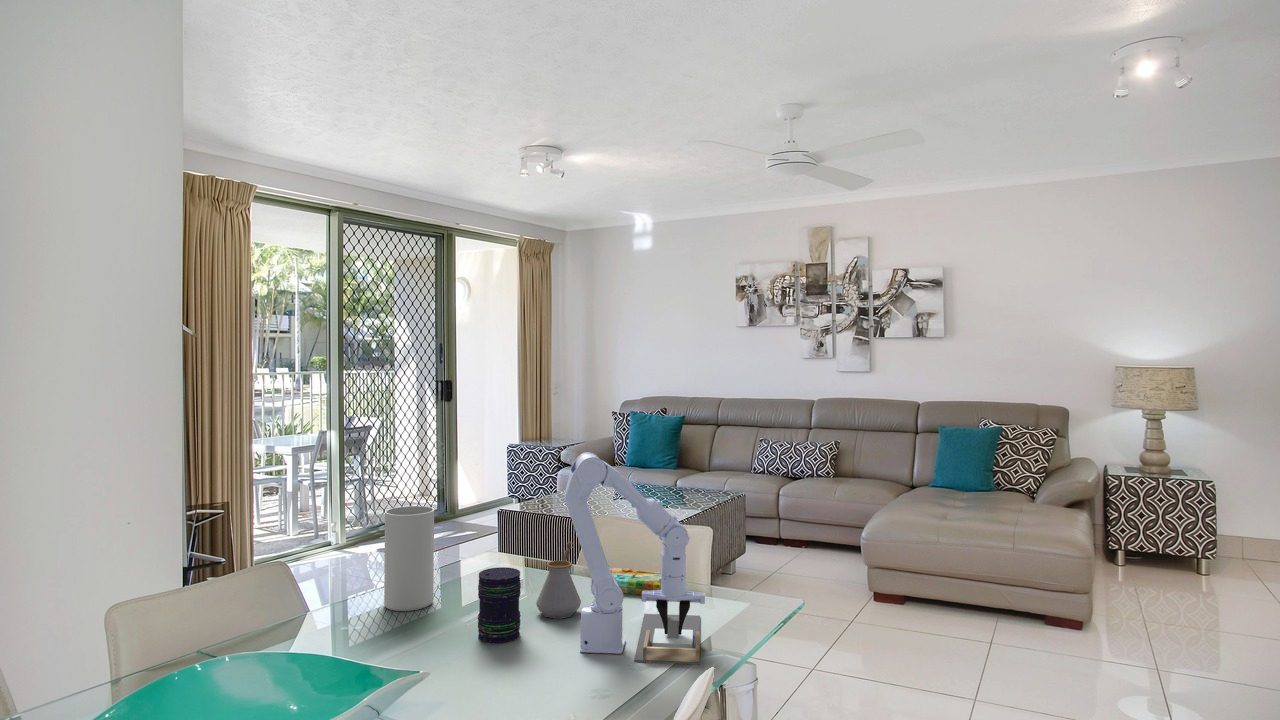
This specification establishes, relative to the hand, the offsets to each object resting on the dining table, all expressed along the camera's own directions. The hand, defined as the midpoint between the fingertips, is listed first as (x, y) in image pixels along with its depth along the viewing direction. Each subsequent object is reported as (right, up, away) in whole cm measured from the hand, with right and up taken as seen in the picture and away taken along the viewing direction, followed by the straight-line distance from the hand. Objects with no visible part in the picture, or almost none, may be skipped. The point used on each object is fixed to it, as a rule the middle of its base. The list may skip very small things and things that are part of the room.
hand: (673, 632), depth 170 cm
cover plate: (0, -2, 0) cm, 2 cm away
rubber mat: (-1, -2, +3) cm, 4 cm away
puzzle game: (-10, -3, +41) cm, 42 cm away
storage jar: (-41, -2, +3) cm, 41 cm away
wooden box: (0, -2, -5) cm, 6 cm away
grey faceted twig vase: (-28, -3, +24) cm, 37 cm away
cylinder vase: (-69, -2, +26) cm, 74 cm away
